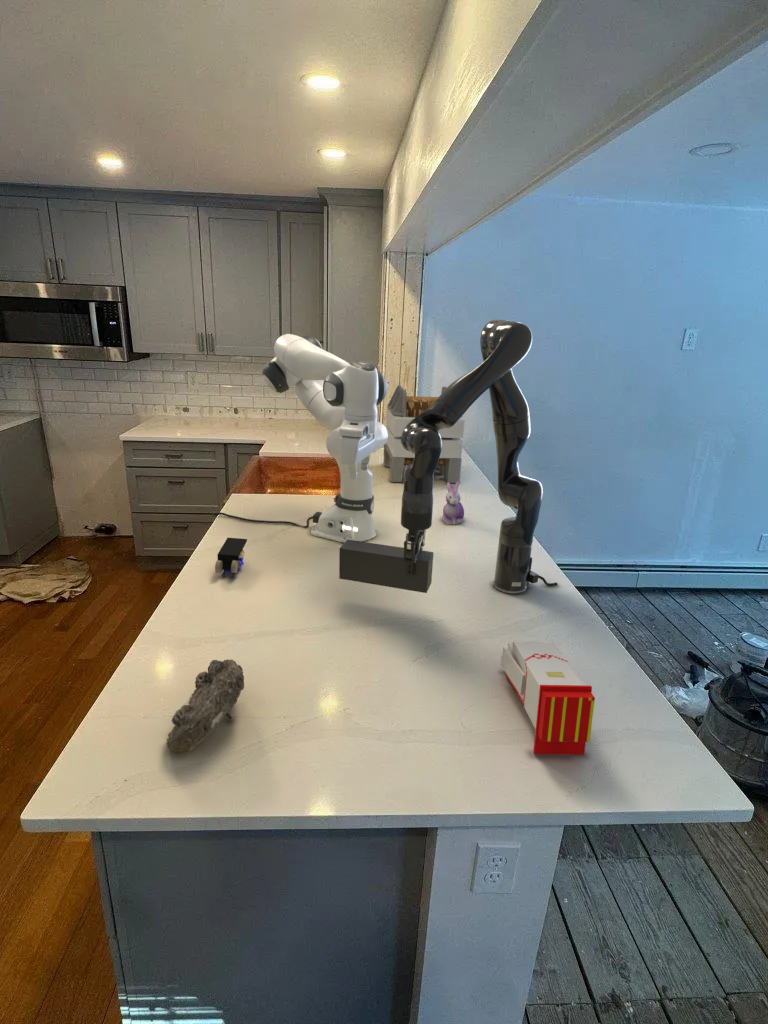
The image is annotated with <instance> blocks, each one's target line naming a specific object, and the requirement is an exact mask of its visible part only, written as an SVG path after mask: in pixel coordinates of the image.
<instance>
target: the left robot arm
mask: <svg viewBox="0 0 768 1024" xmlns="http://www.w3.org/2000/svg"><path fill="white" fill-rule="evenodd" d="M273 352H274V357H273V358H272V359H271V360H270V361H268V362H267V363H266V364H265V365H264V367H263V368H262V373H261V374H262V377H263V380H264V383H266V385H267V387H269V389H271V390H273V391H274V392H275V393H279V394H282V393H285V392H286V391H289V390H290V388H291V387H293V386H294V388H293V389H294V393H295V395H296V396H297V398H298V400H299V401H300V402H301V404H302V405H303V406H304V408H305V409H306V410H307V411H308V412H309V413H310V414H311V416H313V417H314V419H315V420H316V421H317V422H318V423H319V425H321V426H322V427H323V428H325V429H326V430H328V431H330V432H329V433H328V435H327V437H326V440H325V446H326V450H327V453H328V454H329V455H330V456H331V457H332V458H333V459H334V460H335V462H336V464H337V466H338V470H339V476H340V480H339V481H340V484H339V485H340V488H339V489H340V490H339V491H338V492H337V494H336V495H335V496H334V497H333V502H334V504H333V505H331V506H329V507H328V508H326V509H325V510H323V512H322V511H316V512H315V513H314V514H313V515H312V516H309V517H308V518H307V519H306V525H300V524H298V523H296V522H293V521H288V520H287V521H285V520H263V519H261V520H260V519H252V518H245V517H241V516H237V515H232V514H228V513H226V512H217V513H215V514H214V517H217V516H220V515H221V516H225V517H229V518H233V519H237V520H241V521H245V522H250V523H251V522H252V523H262V524H288V525H293V526H295V527H301V528H304V529H307V528H309V527H310V520H312V523H313V524H314V525H313V526H312V528H311V530H310V533H311V536H315V537H319V538H323V539H326V540H330V541H336V542H339V543H343V544H344V543H345V542H346V541H347V540H354V541H361V542H366V541H368V540H372V539H373V538H375V537H376V535H377V532H376V528H375V523H374V513H373V512H374V509H375V496H374V473H373V471H372V470H371V469H369V463H370V461H371V460H370V459H371V455H372V454H374V453H376V452H378V451H379V450H381V449H382V448H384V445H385V444H386V442H387V439H388V433H387V430H386V426H385V425H384V424H383V423H382V422H380V421H378V414H379V413H378V406H379V405H380V404H381V403H382V402H383V400H384V399H385V398H386V395H387V392H388V383H387V380H386V378H385V377H384V375H383V374H382V373H381V372H380V371H379V370H378V369H377V366H376V365H374V364H373V363H372V362H369V361H364V360H352V361H349V360H347V359H344V358H343V357H340V356H337V355H335V354H334V353H332V352H329V351H327V350H325V349H323V346H322V344H321V343H320V341H319V340H318V339H316V337H314V336H312V335H309V334H306V335H303V336H300V335H296V334H292V333H284V334H282V335H280V336H279V337H278V338H277V339H276V341H275V343H274V346H273Z"/></svg>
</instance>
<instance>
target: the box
mask: <svg viewBox="0 0 768 1024" xmlns="http://www.w3.org/2000/svg"><path fill="white" fill-rule="evenodd" d="M338 550H339V551H338V552H339V554H338V555H339V556H338V557H339V559H338V561H339V562H338V564H339V565H338V579H339V580H345V581H351V582H357V583H363V584H369V585H375V586H382V587H387V588H394V589H399V590H405V591H412V592H417V593H423V594H427V593H428V591H429V590H430V587H431V584H432V581H433V567H434V551H428V550H420V552H419V554H417V558H416V566H415V575H414V577H411V576H407V575H406V563H404V561H403V560H404V547H401V546H393V545H388V544H381V543H373V542H368V541H367V542H366V541H354V540H347V541H346V542H345V543H343V544H342V545H341V546H340V547H339V549H338ZM409 558H412V556H410V555H409Z"/></svg>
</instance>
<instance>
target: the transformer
mask: <svg viewBox="0 0 768 1024" xmlns="http://www.w3.org/2000/svg"><path fill="white" fill-rule="evenodd" d="M447 387H448V386H442V387H441V392H440V393H441V394H442V393H443V392H444V390H445V389H446V388H447ZM407 394H408V393H407V390H406V389H404V388H403V387H402V385H399V384H398V385H397V386H396V388H395V390H394V392H393V394H392V395H391V398H390V400H389V402H388V404H387V405H386V413H385V414H386V415H385V423H386V426H385V428H386V430H387V433H388V439H387V442H386V444H385V445H384V446H383V466H384V467H388V468H389V475H388V476H389V477H388V478H389V480H390V482H391V483H402V482H403V476H404V469H405V466H406V467H407V466H408V465H410V464H413V462H414V458H415V454H413V453H411V452H408V451H407V450H405V449H404V448H403V446H402V444H401V435H402V432H403V430H404V428H405V427H406V426H407V424H408V423H409V422H410V421H412V420H413V419H414V418H415V417H417V416H418V415H419V414H421V413H422V412H423V411H425V410H426V409H428V408H429V407H431V406H432V405H433V403H434V402H435V401H436V400H437V399H438V397H439V396H415V395H414V396H413V395H412V396H411V395H407ZM441 394H440V395H441ZM464 429H465V419H464V418H463V417H461V418H460V419H459V420H458V421H457V422H456V424H455V425H454V426H452V427H451V428H445V429H440V430H439V431H438V433H439V434H440V436H441V440H442V450H441V454H440V457H439V461H438V464H437V467H436V469H437V470H438V469H439V473H440V474H441V475H443V478H444V479H445V481H446V482H447V483H448V482H449V483H450V484H455V483H456V482H459V483H461V472H462V461H463V460H462V453H463V442H464V441H463V440H462V439H463V438H464V431H465V430H464Z"/></svg>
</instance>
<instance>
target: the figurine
mask: <svg viewBox="0 0 768 1024" xmlns="http://www.w3.org/2000/svg"><path fill="white" fill-rule="evenodd" d="M446 485H447V486H446V488H447V493H446V495H445V501H446V504H445V505H444V506H443V508H442V517H441V520H442V521H443V522H444V524H447V525H456V524H461V523H462V522H463V521H464V516H465V509H464V506H463V504H462V503H461V502H460V501H461V499H462V497H461V495H460V493H459V487H460V482H456V483H454V485H452V483H449V482H447V483H446Z"/></svg>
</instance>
